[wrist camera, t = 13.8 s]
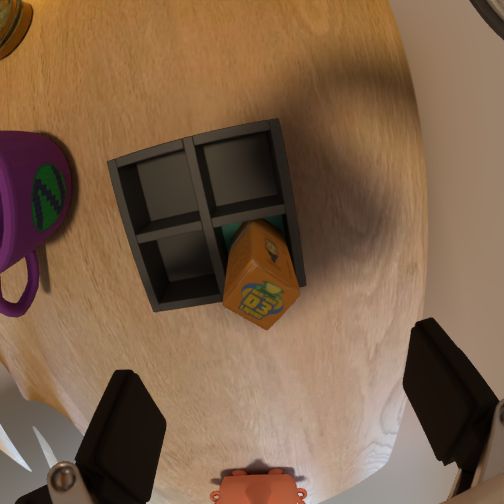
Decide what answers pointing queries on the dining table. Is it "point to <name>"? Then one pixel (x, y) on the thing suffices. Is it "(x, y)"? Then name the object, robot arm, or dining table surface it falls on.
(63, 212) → the mug
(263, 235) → the supplement box
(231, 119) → the dining table surface
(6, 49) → the brass knobbed weight
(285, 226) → the rack
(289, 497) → the teapot
